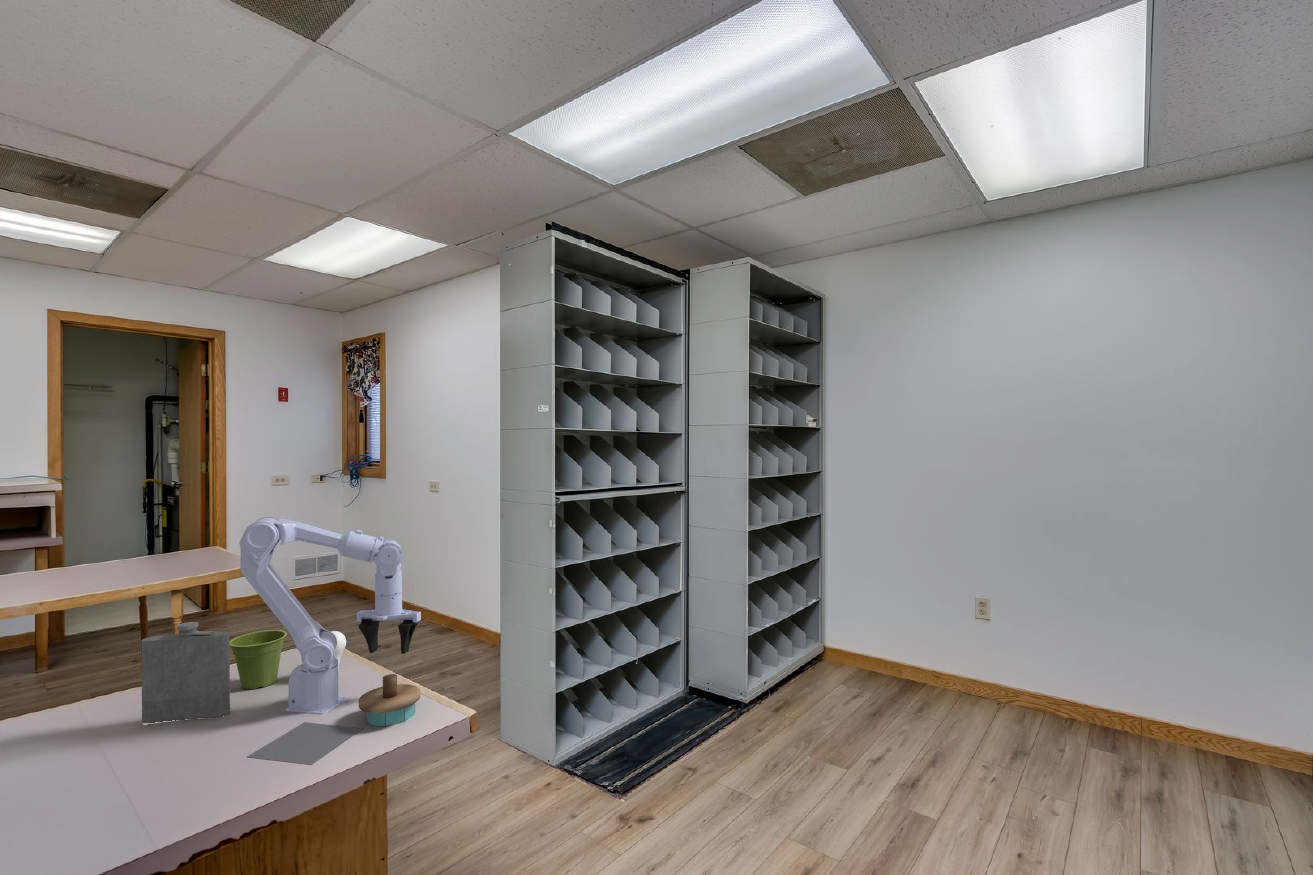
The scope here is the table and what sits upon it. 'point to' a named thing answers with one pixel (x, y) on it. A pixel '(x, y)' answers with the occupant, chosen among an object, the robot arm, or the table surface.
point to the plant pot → (258, 657)
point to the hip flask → (185, 675)
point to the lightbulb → (339, 645)
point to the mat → (306, 743)
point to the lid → (389, 696)
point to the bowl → (391, 716)
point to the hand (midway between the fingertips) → (389, 651)
